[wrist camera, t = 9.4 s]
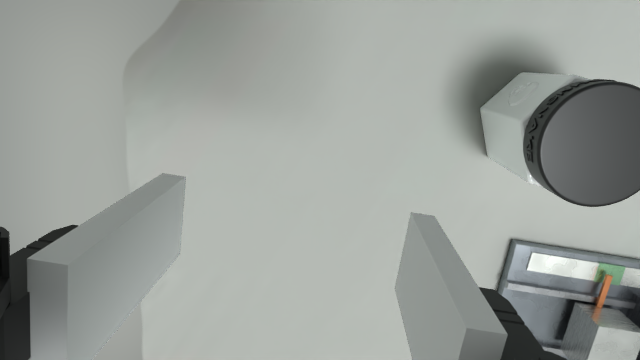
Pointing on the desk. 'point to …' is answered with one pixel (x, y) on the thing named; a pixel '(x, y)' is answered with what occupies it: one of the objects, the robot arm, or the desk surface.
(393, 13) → the desk surface
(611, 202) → the jar
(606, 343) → the block
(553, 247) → the bench
